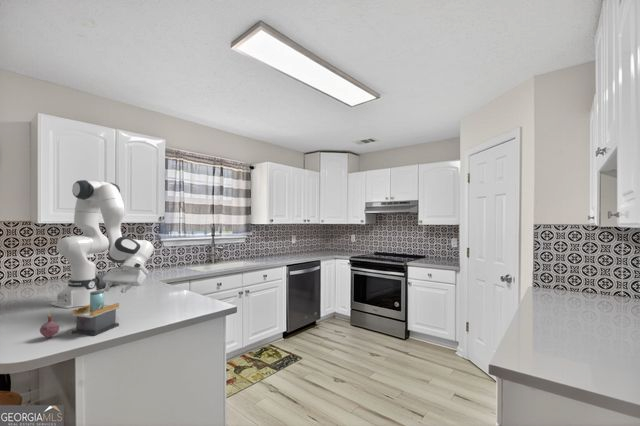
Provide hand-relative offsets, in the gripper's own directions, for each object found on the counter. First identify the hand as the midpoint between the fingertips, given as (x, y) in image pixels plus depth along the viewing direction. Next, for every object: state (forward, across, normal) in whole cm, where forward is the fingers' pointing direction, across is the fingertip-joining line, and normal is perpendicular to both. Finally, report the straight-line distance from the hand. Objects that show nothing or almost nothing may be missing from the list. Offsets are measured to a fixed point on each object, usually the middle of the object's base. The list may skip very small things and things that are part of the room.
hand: (114, 291), depth 143 cm
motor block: (+17, -1, +4) cm, 17 cm away
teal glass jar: (+10, 0, -2) cm, 11 cm away
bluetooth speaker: (-29, -59, +51) cm, 83 cm away
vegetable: (+26, -9, -4) cm, 28 cm away
